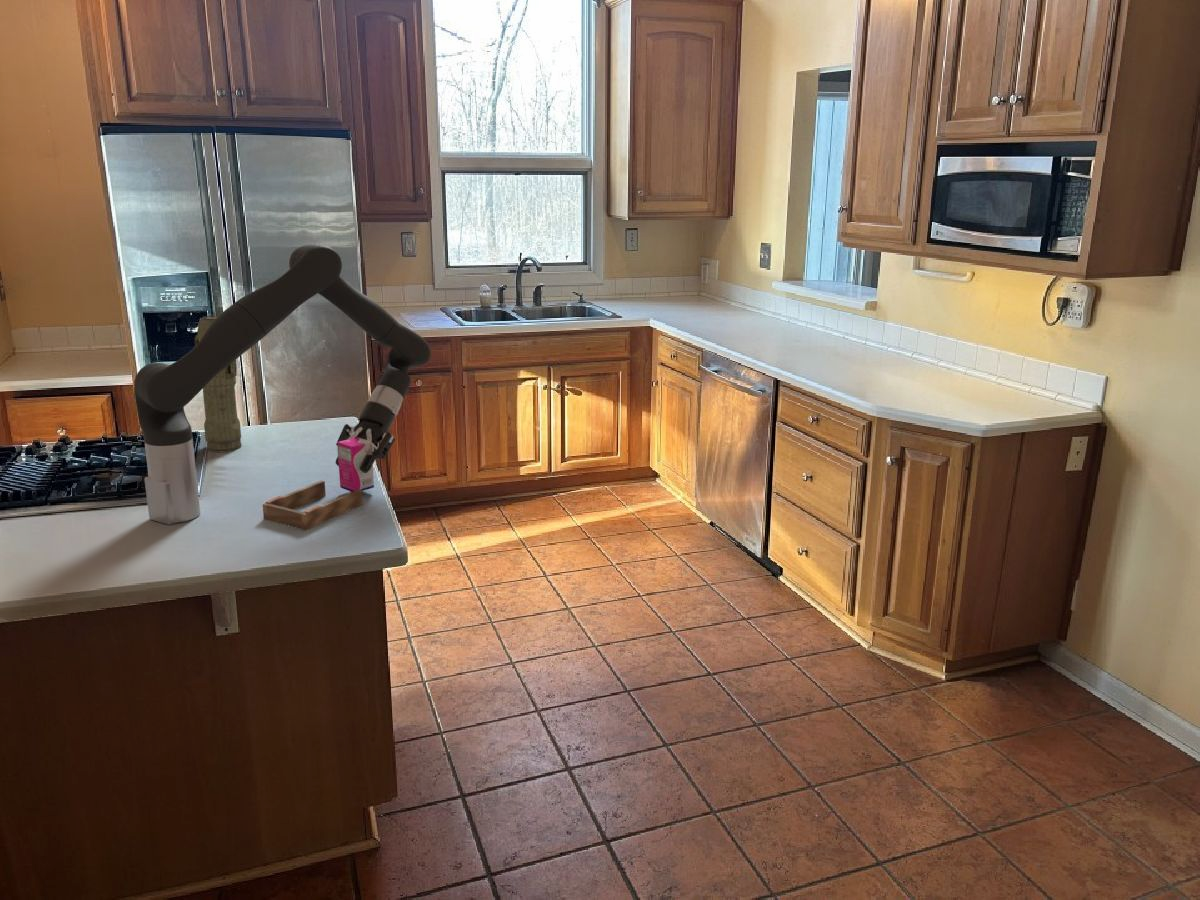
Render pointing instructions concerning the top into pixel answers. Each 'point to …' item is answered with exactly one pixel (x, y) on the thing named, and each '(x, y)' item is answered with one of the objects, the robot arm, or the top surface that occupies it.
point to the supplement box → (354, 464)
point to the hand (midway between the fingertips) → (351, 468)
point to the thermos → (220, 404)
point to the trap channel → (284, 505)
